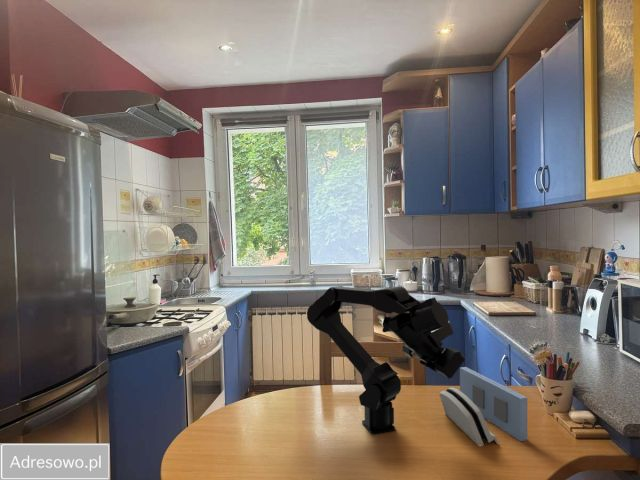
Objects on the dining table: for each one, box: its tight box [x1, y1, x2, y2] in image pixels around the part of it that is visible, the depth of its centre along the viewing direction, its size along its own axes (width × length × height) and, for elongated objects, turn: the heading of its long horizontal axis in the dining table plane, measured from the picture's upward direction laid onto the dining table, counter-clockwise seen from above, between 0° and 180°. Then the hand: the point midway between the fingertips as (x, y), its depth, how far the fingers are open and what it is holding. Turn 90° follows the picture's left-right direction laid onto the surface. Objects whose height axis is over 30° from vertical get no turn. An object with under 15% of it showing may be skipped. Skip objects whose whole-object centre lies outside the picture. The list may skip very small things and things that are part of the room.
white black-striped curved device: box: [439, 387, 499, 447], centre depth 98 cm, size 17×5×10 cm, turn 9°
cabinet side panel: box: [459, 366, 528, 442], centre depth 102 cm, size 2×22×10 cm, turn 17°
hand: (451, 374), depth 98 cm, fingers closed
